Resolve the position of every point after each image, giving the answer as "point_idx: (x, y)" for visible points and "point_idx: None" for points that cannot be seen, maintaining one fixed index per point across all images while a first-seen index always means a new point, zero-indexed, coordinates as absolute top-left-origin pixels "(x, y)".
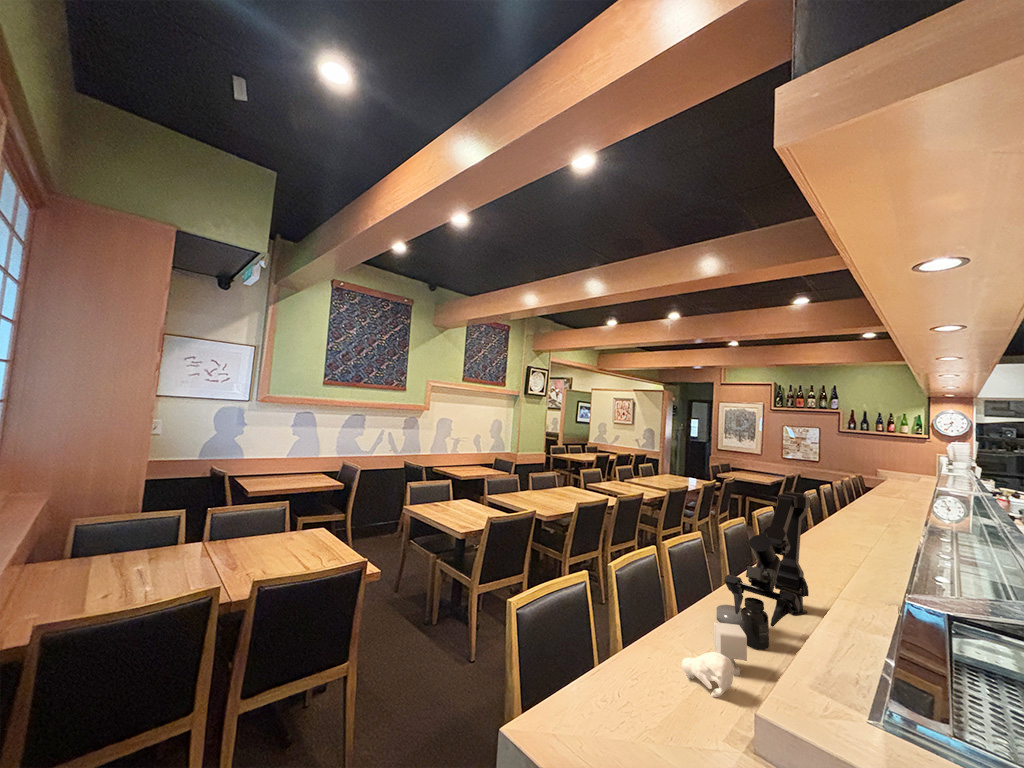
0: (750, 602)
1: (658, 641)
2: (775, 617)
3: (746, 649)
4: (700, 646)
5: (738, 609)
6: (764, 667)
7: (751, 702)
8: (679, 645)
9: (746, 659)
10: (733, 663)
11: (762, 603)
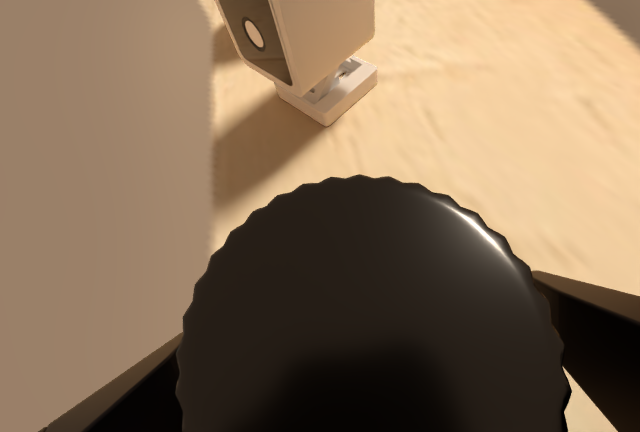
0: (342, 185)
1: (557, 18)
2: (111, 381)
3: (222, 14)
4: (469, 112)
5: (555, 325)
6: (247, 199)
7: (214, 46)
8: (505, 57)
9: (238, 51)
10: (307, 95)
11: (184, 346)
